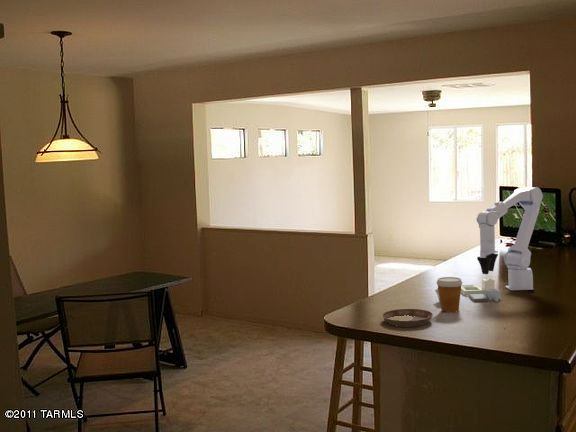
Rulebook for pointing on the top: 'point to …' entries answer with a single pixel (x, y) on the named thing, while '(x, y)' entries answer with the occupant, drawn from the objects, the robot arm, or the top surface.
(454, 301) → the disposable coffee cup
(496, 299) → the cable plug
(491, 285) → the charger
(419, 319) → the plant saucer
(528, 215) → the robot arm
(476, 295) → the phone
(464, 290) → the outlet plate
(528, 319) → the top surface
